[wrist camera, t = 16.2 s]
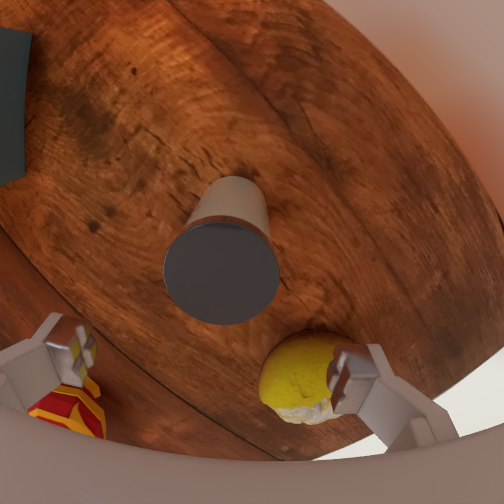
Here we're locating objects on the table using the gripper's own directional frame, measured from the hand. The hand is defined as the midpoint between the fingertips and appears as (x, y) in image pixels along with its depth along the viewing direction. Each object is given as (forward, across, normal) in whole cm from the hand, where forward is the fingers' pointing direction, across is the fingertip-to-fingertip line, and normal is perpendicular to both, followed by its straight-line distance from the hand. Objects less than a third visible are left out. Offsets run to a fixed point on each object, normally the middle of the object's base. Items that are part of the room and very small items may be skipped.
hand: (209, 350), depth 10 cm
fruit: (+16, -9, +16) cm, 25 cm away
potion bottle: (+16, +18, +25) cm, 35 cm away
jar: (+16, 0, 0) cm, 16 cm away
